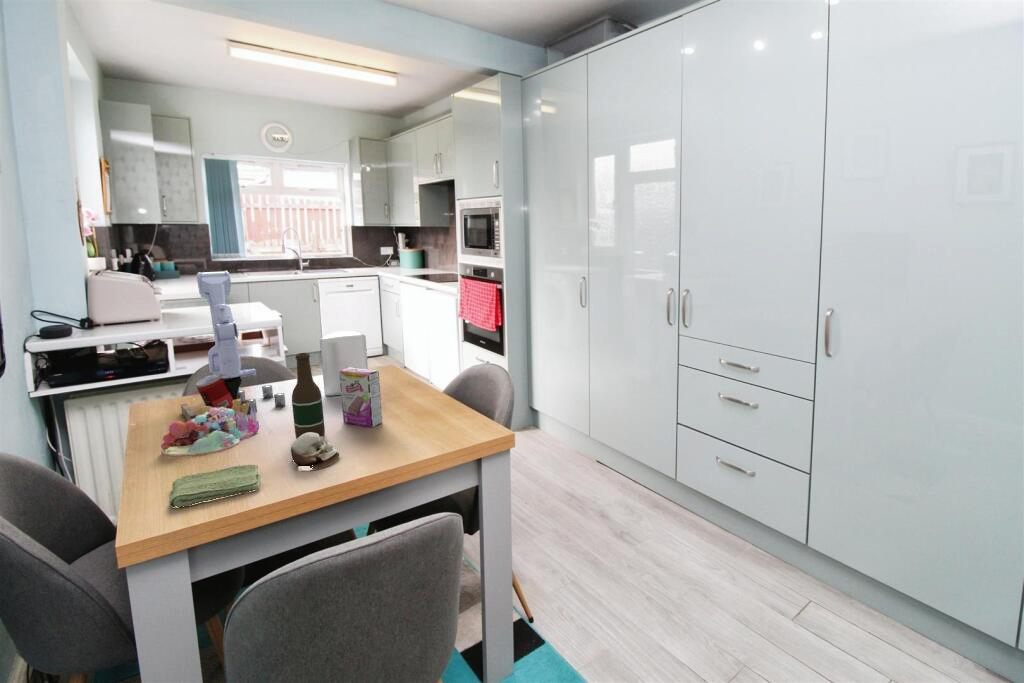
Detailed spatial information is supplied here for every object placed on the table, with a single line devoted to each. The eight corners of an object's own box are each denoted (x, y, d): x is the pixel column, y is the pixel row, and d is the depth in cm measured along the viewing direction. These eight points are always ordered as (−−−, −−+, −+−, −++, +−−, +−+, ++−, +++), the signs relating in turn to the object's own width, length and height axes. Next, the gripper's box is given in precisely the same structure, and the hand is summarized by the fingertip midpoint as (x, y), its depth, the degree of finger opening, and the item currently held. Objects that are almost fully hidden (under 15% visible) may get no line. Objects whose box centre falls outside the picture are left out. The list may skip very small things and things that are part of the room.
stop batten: (182, 413, 176) (180, 404, 176) (187, 412, 177) (186, 403, 177) (191, 425, 164) (190, 416, 164) (197, 424, 165) (196, 415, 165)
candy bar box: (342, 423, 163) (337, 370, 160) (353, 418, 168) (349, 366, 164) (372, 428, 159) (368, 373, 155) (383, 422, 163) (379, 369, 160)
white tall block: (341, 384, 206) (336, 327, 202) (377, 385, 204) (373, 327, 200) (322, 396, 191) (316, 335, 187) (361, 397, 189) (356, 335, 185)
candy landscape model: (172, 431, 161) (167, 401, 159) (259, 419, 170) (256, 390, 168) (156, 462, 138) (151, 428, 137) (258, 446, 147) (254, 414, 146)
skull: (329, 443, 145) (336, 422, 138) (340, 478, 140) (347, 458, 133) (281, 452, 138) (286, 431, 131) (291, 489, 133) (296, 470, 126)
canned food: (240, 400, 180) (226, 371, 176) (227, 412, 172) (212, 382, 168) (219, 404, 181) (204, 375, 177) (205, 417, 173) (190, 387, 169)
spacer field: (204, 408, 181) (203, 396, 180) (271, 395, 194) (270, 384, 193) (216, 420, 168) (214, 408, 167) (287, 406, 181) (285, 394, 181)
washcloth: (262, 493, 121) (261, 479, 120) (169, 513, 113) (167, 499, 112) (258, 471, 132) (256, 458, 131) (173, 488, 124) (171, 475, 123)
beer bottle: (297, 444, 147) (288, 358, 142) (294, 435, 154) (285, 352, 149) (327, 439, 151) (319, 354, 146) (323, 430, 157) (315, 349, 153)
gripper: (207, 365, 168) (212, 407, 171) (256, 358, 177) (261, 398, 180) (202, 362, 173) (207, 403, 176) (250, 354, 183) (255, 393, 185)
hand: (234, 400), depth 178 cm, fingers closed, pressing on canned food
